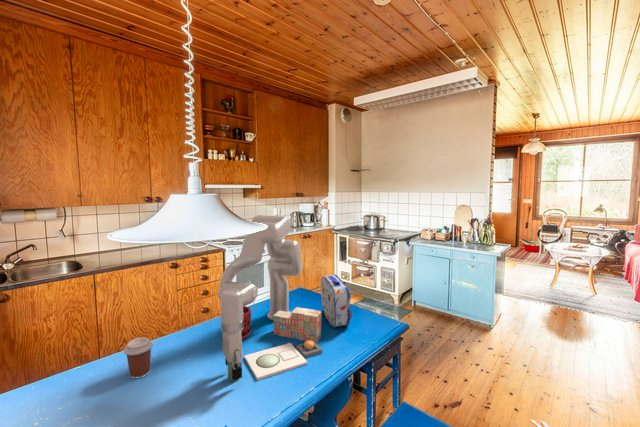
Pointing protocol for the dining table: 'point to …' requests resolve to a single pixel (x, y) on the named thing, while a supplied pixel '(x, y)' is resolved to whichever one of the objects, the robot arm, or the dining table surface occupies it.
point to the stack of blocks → (298, 324)
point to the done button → (309, 345)
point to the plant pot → (246, 322)
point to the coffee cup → (138, 356)
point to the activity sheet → (274, 361)
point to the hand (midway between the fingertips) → (233, 371)
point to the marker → (231, 371)
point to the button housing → (309, 353)
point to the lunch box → (335, 301)
